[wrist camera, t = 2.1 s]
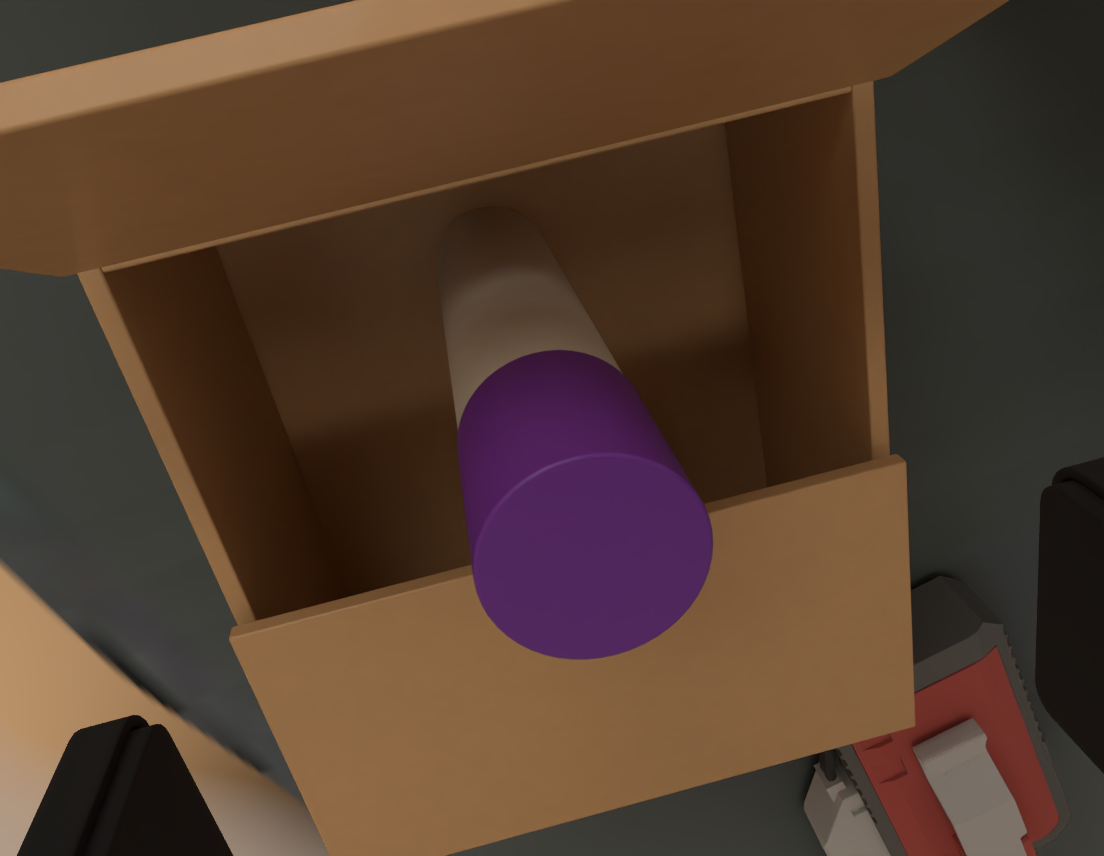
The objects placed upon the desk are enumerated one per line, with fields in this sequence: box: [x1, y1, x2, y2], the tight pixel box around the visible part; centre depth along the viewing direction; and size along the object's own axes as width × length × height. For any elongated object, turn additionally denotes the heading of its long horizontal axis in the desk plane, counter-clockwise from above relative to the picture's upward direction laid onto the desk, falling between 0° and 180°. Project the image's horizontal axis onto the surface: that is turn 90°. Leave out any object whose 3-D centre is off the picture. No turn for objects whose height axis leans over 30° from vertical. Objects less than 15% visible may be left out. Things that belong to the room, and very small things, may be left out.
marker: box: [436, 207, 713, 660], centre depth 17 cm, size 3×3×14 cm
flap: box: [0, 0, 1009, 277], centre depth 11 cm, size 7×14×1 cm
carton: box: [77, 81, 915, 856], centre depth 22 cm, size 15×14×9 cm
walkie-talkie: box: [804, 576, 1071, 856], centre depth 33 cm, size 9×4×20 cm
